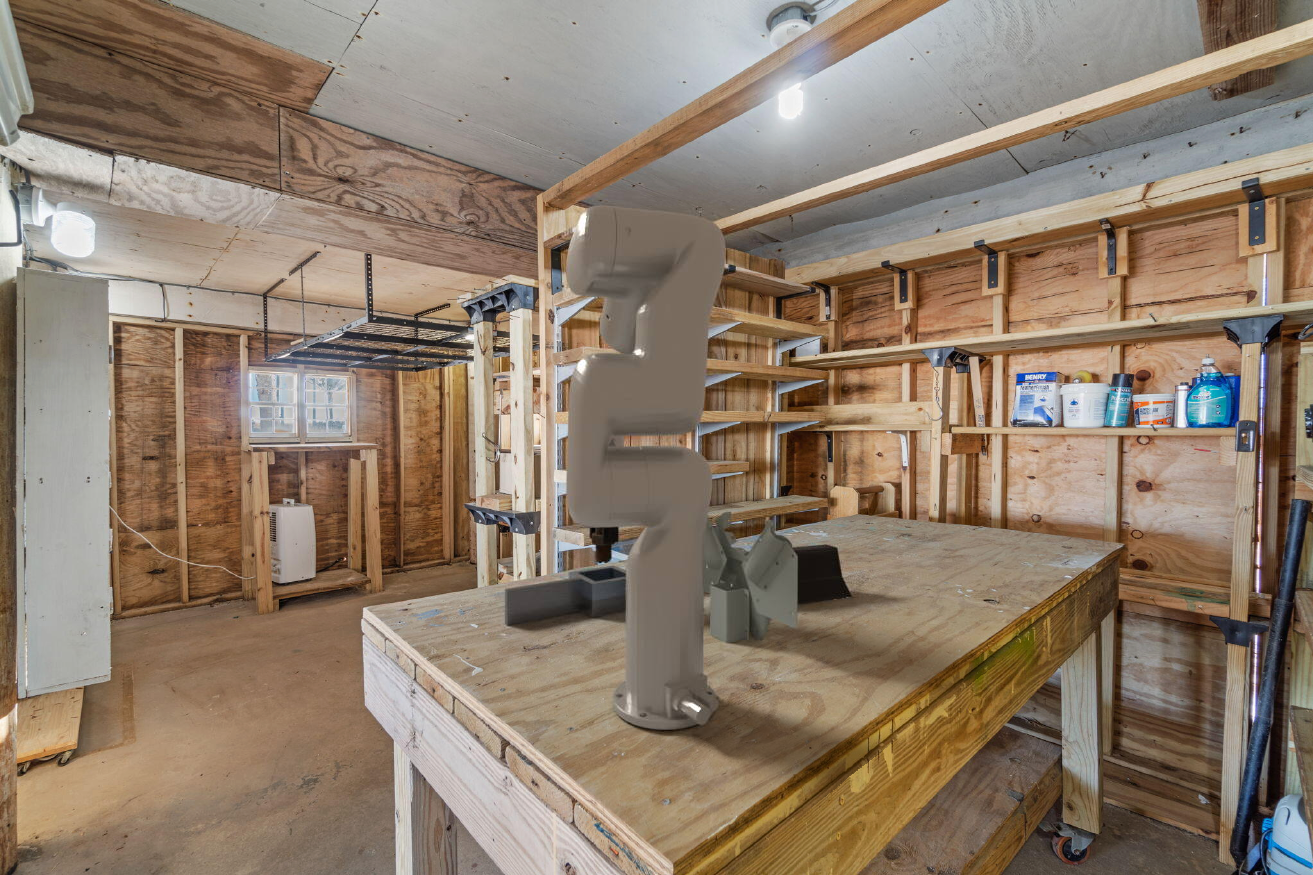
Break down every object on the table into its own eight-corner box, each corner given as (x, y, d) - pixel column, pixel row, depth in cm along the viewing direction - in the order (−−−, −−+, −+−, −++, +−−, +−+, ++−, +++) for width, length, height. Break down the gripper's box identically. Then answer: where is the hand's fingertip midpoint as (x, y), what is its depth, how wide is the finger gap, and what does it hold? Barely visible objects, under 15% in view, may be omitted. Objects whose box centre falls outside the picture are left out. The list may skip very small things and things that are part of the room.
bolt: (583, 562, 106) (583, 483, 106) (598, 557, 110) (598, 481, 110) (609, 566, 103) (609, 485, 103) (623, 560, 108) (623, 482, 107)
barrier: (752, 612, 104) (752, 559, 104) (728, 599, 112) (728, 549, 112) (853, 598, 113) (853, 549, 112) (824, 587, 121) (825, 541, 120)
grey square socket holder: (698, 595, 113) (698, 566, 113) (516, 633, 92) (516, 597, 92) (670, 584, 122) (670, 556, 121) (496, 616, 101) (496, 583, 100)
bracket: (814, 658, 82) (815, 523, 82) (780, 669, 79) (781, 527, 78) (701, 607, 106) (701, 502, 105) (670, 614, 102) (670, 504, 101)
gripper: (644, 445, 101) (644, 545, 102) (600, 443, 115) (600, 531, 116) (607, 445, 97) (607, 550, 98) (567, 443, 111) (567, 535, 112)
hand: (603, 539), depth 107 cm, fingers closed on bolt, 4 cm apart
